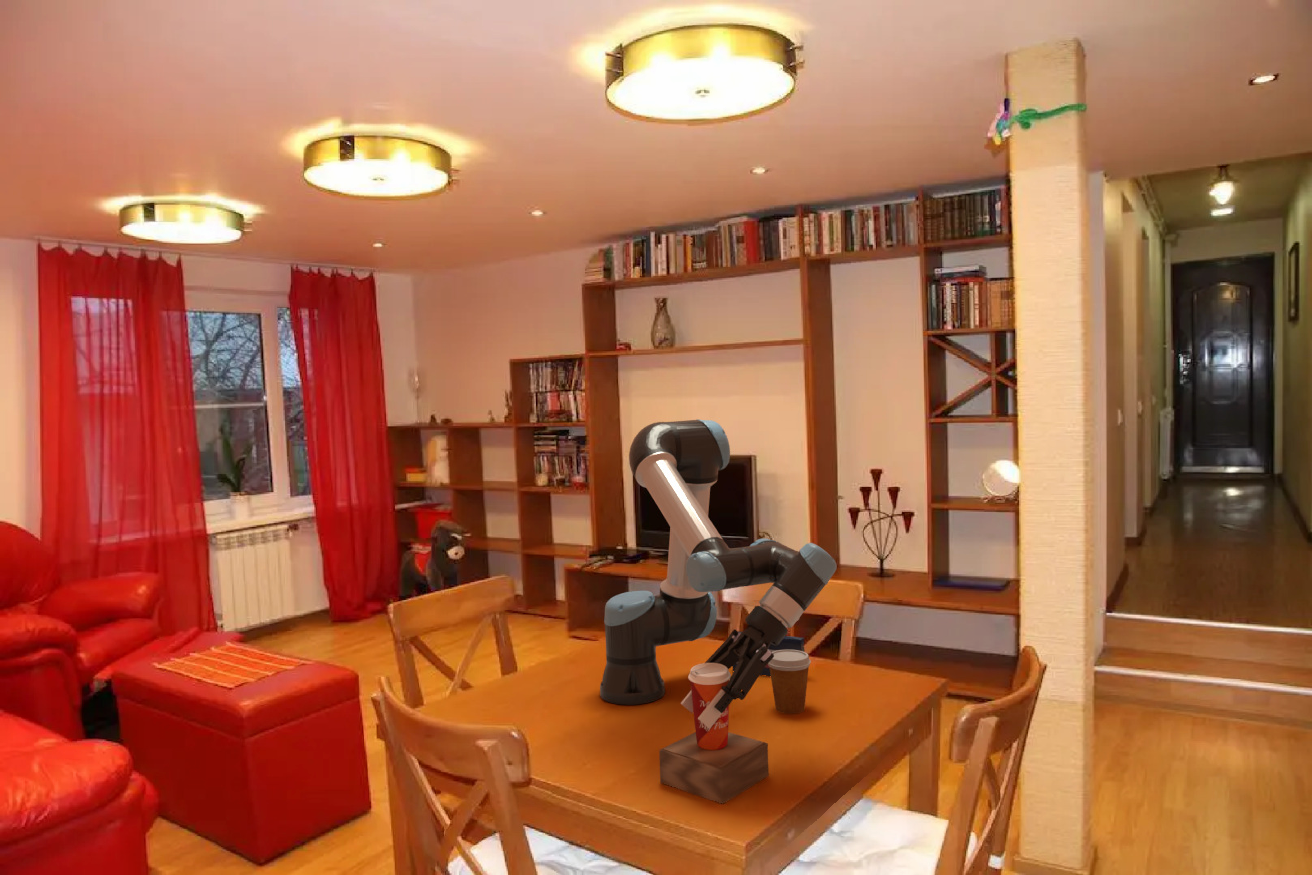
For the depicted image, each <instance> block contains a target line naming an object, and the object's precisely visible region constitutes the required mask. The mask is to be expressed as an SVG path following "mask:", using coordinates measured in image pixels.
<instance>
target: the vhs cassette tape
mask: <svg viewBox="0 0 1312 875" xmlns="http://www.w3.org/2000/svg"><path fill="white" fill-rule="evenodd" d="M738 632H739V633H742V632H743V631H738ZM768 650H769V651H770V652H774V651H777V650H799V651H803V652H805V637H800V636H799V637H798V636H792V635H790V636H789V635H786V636H785V637H784V638H783V639H782V641H781V642H780V643H779V644H778V645H777V646H774V645H772V644H770V646H769V648H768ZM760 660H761V659H760ZM738 662H739V661H738ZM738 662H737V663H735V664H734V665H733V666H732V667H731V668H732V672H733V671H734V670H735V668H736V666H737V664H738ZM762 675H766V676H765V677H770V676H771V674H770V668H769V665H768V664H767V665H766V666H765V668H764V669H763V671H762V672H761V674H760V675H759V676H762Z"/></svg>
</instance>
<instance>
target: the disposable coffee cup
mask: <svg viewBox="0 0 1312 875" xmlns="http://www.w3.org/2000/svg"><path fill="white" fill-rule="evenodd" d="M772 653H773V654H774V657H773V659H772V660H771V661H770V662H769V663H768V665H769V668H770V674H771V677H770V680H771V686H772V693H773V699H774V700H773V701H774V706H775V710H776V711H777V712H778V713H781V714H787V715H794V714H800V713H803V712H804V711H805V708H806V699H807V698H806V697H807V690H808V689H807V688H808V687H807V686H808V676H809V667H810V664H811V662H812V661H811V660H812V659H810V656H809V654H808V653H807V652H805V651H804V652H803V651H799V650H777V651H774V652H772Z"/></svg>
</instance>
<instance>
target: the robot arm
mask: <svg viewBox="0 0 1312 875" xmlns="http://www.w3.org/2000/svg"><path fill="white" fill-rule="evenodd" d="M628 453H629V454H628V460H629V468H630V471H631V473H632V475H633V477H634V479H635V480H636V482H637V483H638V485H640V486H641V487H643V488H646V490H647V491H648V492H649V494H650V496H651V498H652V499H653V500H654V502H655V504H656V505H657V507H658V509H659V510H660V512H661V514H662V515H663V517H664V519H665V520H666V522H667V523H668V526H669V527H670V528H669V529H670V530H669V544H668V557H667V558H668V560H667V570H666V571H667V572H666V573H667V574H666V579H663V580H662V581H661V583H660V584H659V594H658V595H654V594H653V592H651V591H649V590H637V591H636V590H632V591H625V592H623V593H619V594H616V595H614V596H612V597H611V598H610V599H608V600H607V602H606V603H605V606H604V619H603V622H604V630H605V631H604V632H605V634H604V635H605V652H606V653H605V655H606V662H605V667H604V670H603V674H602V681H601V682H600V685H599V692H600V693H599V694H600V698H601V699H602V700H603V701H604V702H607V703H610V704H615V705H627V706H628V705H630V706H633V705H643V704H648V703H651V702H655V701H657V700H659V699H661V698H662V697H664V696H665V692H666V691H665V690H666V688H665V681H664V679H663V678H662V676H661V672H660V668H659V665H658V662H657V652H656V651H657V647H660V646H666V645H671V644H672V645H673V644H678V643H683V642H693V641H696V640H700V639H703V638H706V637H707V636H709V635H710V634H711V633H712V631H713V630H714V628H715V626H716V622H717V614H718V609H717V606H715V605H716V599H715V596H714V594H712V593H713V592H720V591H724V590H730V589H735V588H742V587H743V588H745V587H750V586H757V585H758V586H759V585H763V584H764V585H765V584H769V583H770V584H772V585H771V586H770V587H769V589H768V590H767V591H766V592H765V594H764V595H763V596H762V598H760V600H759V601H758V602H759V605H757V606H756V605H755V606H754V607H753V608H752V610H751V611H750V612H749V613H748V615H747V616H746V617H745V622H746V625H747V628H745V629H744V630H743V631H741V632H742V633H739V632H740V631H738V630H737V629H732V631H731V633H730V634H729V635H728V637H727V638H726V639H725V641H723V642H722V643H721V645H720V646H719V647H717V649H716V650H715V651H714V652H713V653H712V654H711V655H710V657H708V658H707V659H706V661H705V662H704V663H718V664H722V665H724V666H726V667H727V668H728V670H730V669H731V668H733V667H732V666H733V665H734V664H735V663H737V662H738V661H739V662H738V664H737V666H736V668H735V670H734V672H733V671H732V674H731V678H730V679H729V682H728V684H727V686H722V689H723V690H724V691H725V692H724V691H723V690H722V689H721V690H720V691H719V692H718V694H717V695H716V696H715V697H714V699H713V700H712V701H711V702H710V704H709V705H708V706H707V707H706V709H705V710H704V711H703V712H702V714H701V715H700V716H699V717H698V719H699V720H700V721H701V722H702V723H703V724H704V725H706V726H707V727H708V728H709V729H710V728H711V727H712V725H713V724H714V723H715V722H716V720H717V719H718V718H719V717H720V715H721V714H722V713H723V712H724V711H725V709H726V708H727V707H728V705H729V706H730V704H731V703H732V701H735V700H738V699H739V700H740V701H742V700H744V699H745V698H746V697H747V695H748V694H749V692H750V691H751V689H752V687H753V686H754V684H755V682H756V681H757V680H758V678H759V677H760V676H761V675H760V674H761V672H762V671H763V669H764V668H765V666H766V665H767V664H768V663H769V662H770V661H771V660H772V659H773V657H774V654H773V653H772V652H770V651H769V650H768V648H769V646H770V644H772V645H774V646H777V645H778V644H779V643H780V642H781V641H782V639H783V638H784V637H785V636H787V635H788V629H789V628H791V629H792V627H793V626H794V625H795V624H796V622H797V621H799V620H800V617H801V616H802V615H803V614H804V612H805V611H806V610H807V608H808V607H810V605H811V604H812V603H813V602H814V600H815V599H816V598H817V596H818V595H819V594H820V592H821V591H822V590H823V589H824V588H825V587H826V585H828V584H829V581H830V580H831V579H832V577H833V576H834V574H835V572H836V571H837V566H838V565H837V562H836V560H835V559H834V558H833V557H832V556H831V555H830V554H829V553H828V552H827V551H826V550H824V548H822V547H820V546H819V545H817V544H815V543H813V542H809V543H805V544H804V546H802V547H801V548H800V549H799V551H798V550H795V549H794V548H791V547H788V546H787V545H784V544H782V543H781V542H779V541H776V540H775V539H774V540H773V539H768V538H759V539H756V540H755V541H754V542H752V543H751V544H750V545H749V546H741V547H734V548H733V547H732V548H730V547H729V546H728V544H727V543H726V542H725V541H724V539H723V537H722V536H721V534H720V533H719V531H718V530H717V528H716V527H715V525H714V524H713V522H712V521H711V520H710V518H709V509H710V508H709V506H710V497H711V496H710V495H711V494H710V492H711V487H712V486H713V485H715V484H716V483H718V482H717V481H718V479H719V478H718V477H719V476H718V475H719V471H722V470H724V469H726V467H727V466H728V464H729V463H730V459H731V458H730V457H731V448H730V443H729V438H728V436H727V434H726V432H725V430H724V428H723V427H722V426H721V424H720V423H718V422H717V421H715V420H709V419H707V420H705V419H697V418H696V419H690V420H676V421H657V422H653V423H651V424H648V425H646V426H644V427H643V428H642V429H641V430H639V431H638V433H637V434H636V436H635V437H634V438H633V440H632V442H631V444H630V448H629V452H628ZM760 659H761V660H760ZM680 704H681V705H682V706H683V707H684V708H685V709H686V710H688V711H689V712H690V713H691V714H694V712H693V702H692V692H691V690H690V691H689V692H688V693H687V695H686V696H685V697H684V698H683V699H682V701H681V702H680Z"/></svg>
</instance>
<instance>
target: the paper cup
mask: <svg viewBox="0 0 1312 875" xmlns="http://www.w3.org/2000/svg"><path fill="white" fill-rule="evenodd" d="M689 671H690V672H689V674H688V677H687V679H688V681H690V682H689V684H690V691H691V692H692V702H693V718H694V719H693V721H694V729H695V732H696V739H697V745H698V746H699V747H700V748H702V749H704V750H720V749H723V748H724V747H726V746H727V744H728V732H729V716H730V715H729V712H730V710H729V709H730V708H729V707H730V704H729V705H728V707H727V708H726V709H725V711H724V712H723V713H722V714H721V715H720V717H719V718H718V719H717V720H716V722H715V723H714V724H713V725H712V727H711V728H710V729H709V728H708V727H707V726H706V725H704V724H703V723H702V722H701V721H700V720H699V719H698V717H699V716H700V715H701V714H702V712H703V711H704V710H705V709H706V707H707V706H708V705H709V704H710V702H711V701H712V700H713V699H714V697H715V696H716V695H717V694H718V692H719V691H720V690H721V689H722V686H727V684H728V682H729V680H730V678H731V676H732V674H731V672H730V669H728V668H727V667H726V666H724V665H722V664H718V663H705V662H704V663H703V662H702V663H698V664H696V665H694V666H692V667H691V668H690V670H689ZM722 690H723V689H722ZM723 691H724V690H723ZM724 692H725V691H724Z"/></svg>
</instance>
